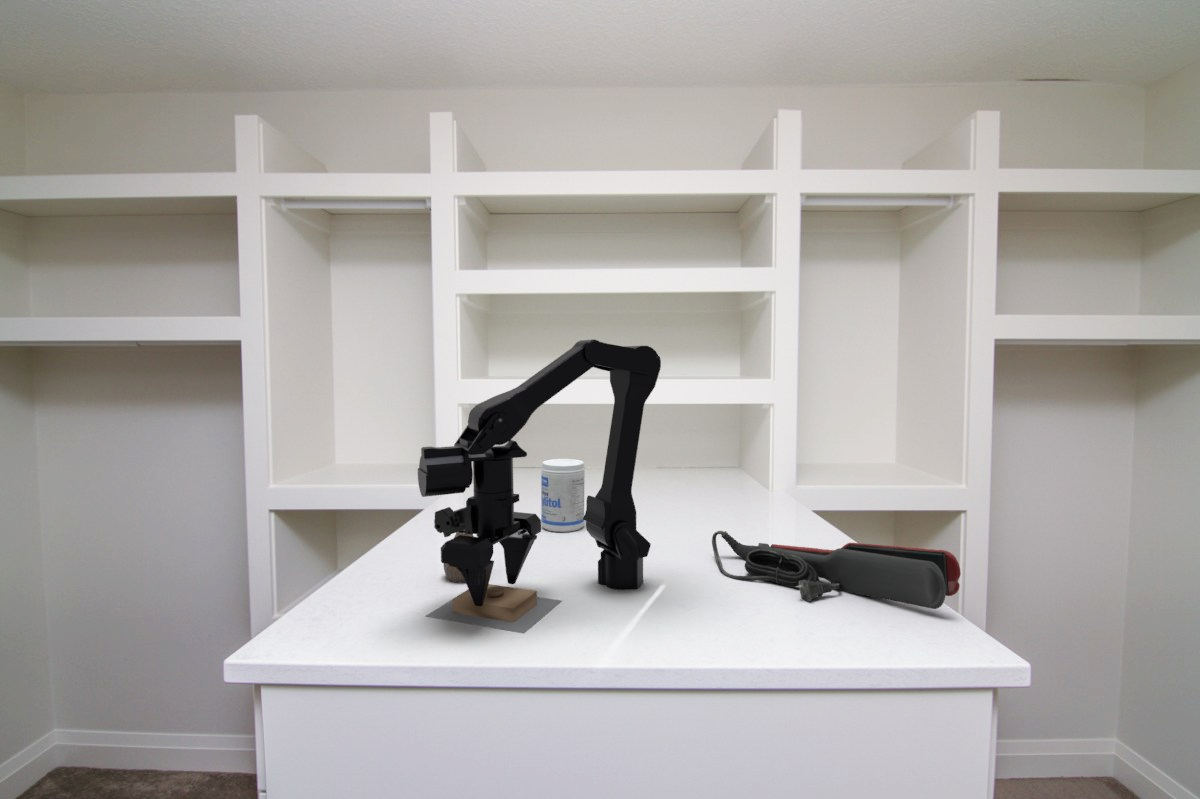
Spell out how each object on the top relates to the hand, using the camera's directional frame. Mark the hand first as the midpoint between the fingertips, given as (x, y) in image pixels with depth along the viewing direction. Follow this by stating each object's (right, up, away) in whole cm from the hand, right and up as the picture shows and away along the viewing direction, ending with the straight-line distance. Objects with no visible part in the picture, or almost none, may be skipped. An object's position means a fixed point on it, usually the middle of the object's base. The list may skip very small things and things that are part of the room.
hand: (495, 594), depth 93 cm
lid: (0, -2, 0) cm, 2 cm away
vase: (-8, -2, +14) cm, 16 cm away
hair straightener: (+53, -2, +12) cm, 54 cm away
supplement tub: (+7, 0, +48) cm, 48 cm away
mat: (0, -3, 0) cm, 3 cm away
